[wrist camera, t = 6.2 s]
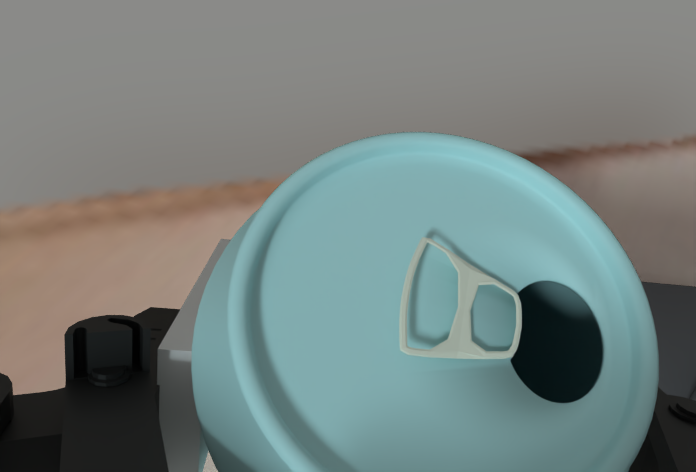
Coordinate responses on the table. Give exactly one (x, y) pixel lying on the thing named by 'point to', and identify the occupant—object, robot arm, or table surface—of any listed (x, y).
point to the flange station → (675, 336)
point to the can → (424, 321)
